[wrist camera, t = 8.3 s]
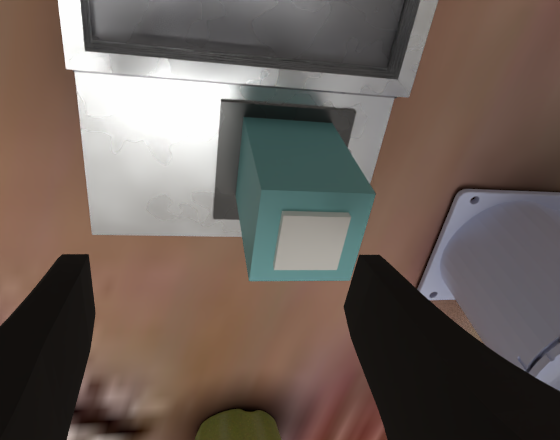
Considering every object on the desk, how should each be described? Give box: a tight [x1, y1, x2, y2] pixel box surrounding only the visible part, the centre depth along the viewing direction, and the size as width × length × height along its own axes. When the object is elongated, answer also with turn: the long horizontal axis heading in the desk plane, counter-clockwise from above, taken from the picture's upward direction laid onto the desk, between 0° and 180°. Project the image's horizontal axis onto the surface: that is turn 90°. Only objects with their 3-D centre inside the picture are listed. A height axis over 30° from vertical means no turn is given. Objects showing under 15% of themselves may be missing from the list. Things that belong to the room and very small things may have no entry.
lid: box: [73, 70, 397, 237], centre depth 22 cm, size 13×8×1 cm, turn 82°
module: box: [236, 117, 376, 281], centre depth 19 cm, size 4×4×6 cm
